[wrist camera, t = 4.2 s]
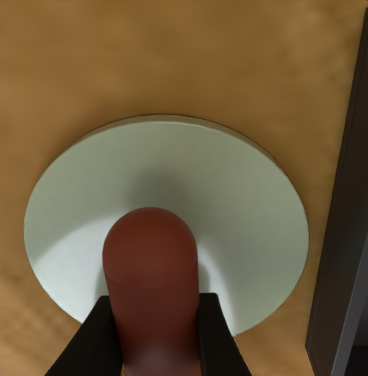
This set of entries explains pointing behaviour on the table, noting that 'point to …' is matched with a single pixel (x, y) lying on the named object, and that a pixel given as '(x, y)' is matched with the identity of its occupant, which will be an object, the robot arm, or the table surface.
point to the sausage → (154, 292)
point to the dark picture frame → (345, 249)
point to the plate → (175, 202)
